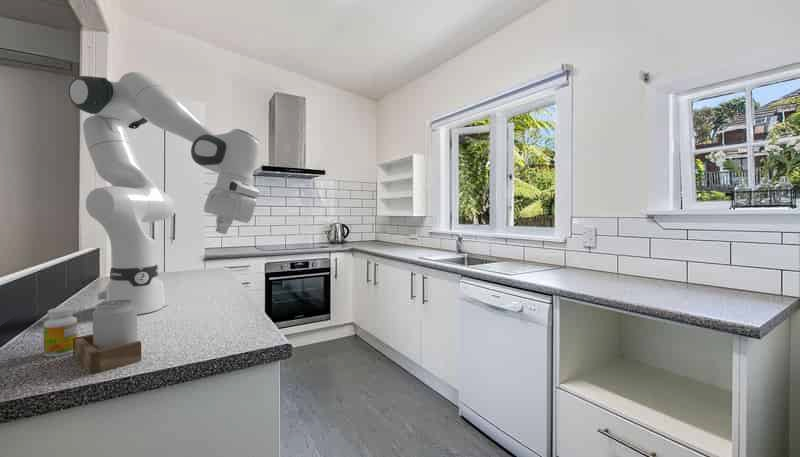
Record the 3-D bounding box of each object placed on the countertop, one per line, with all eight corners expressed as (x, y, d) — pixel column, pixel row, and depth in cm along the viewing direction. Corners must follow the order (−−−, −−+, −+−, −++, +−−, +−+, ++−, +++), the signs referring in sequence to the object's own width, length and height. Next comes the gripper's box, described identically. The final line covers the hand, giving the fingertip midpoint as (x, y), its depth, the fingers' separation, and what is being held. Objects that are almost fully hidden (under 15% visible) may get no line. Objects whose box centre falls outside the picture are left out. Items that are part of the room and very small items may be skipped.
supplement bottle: (36, 356, 75) (35, 311, 75) (64, 347, 81) (63, 305, 80) (58, 358, 75) (57, 313, 74) (84, 348, 80) (83, 306, 79)
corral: (73, 356, 75) (72, 338, 75) (118, 345, 82) (118, 328, 82) (92, 374, 67) (91, 353, 67) (141, 360, 74) (141, 341, 74)
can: (114, 365, 71) (113, 307, 71) (83, 362, 72) (82, 305, 72) (146, 351, 79) (145, 298, 78) (117, 348, 80) (116, 297, 79)
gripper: (205, 180, 104) (192, 225, 103) (242, 186, 92) (228, 237, 91) (225, 186, 109) (213, 229, 108) (263, 192, 97) (250, 241, 96)
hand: (220, 233), depth 99 cm, fingers closed
